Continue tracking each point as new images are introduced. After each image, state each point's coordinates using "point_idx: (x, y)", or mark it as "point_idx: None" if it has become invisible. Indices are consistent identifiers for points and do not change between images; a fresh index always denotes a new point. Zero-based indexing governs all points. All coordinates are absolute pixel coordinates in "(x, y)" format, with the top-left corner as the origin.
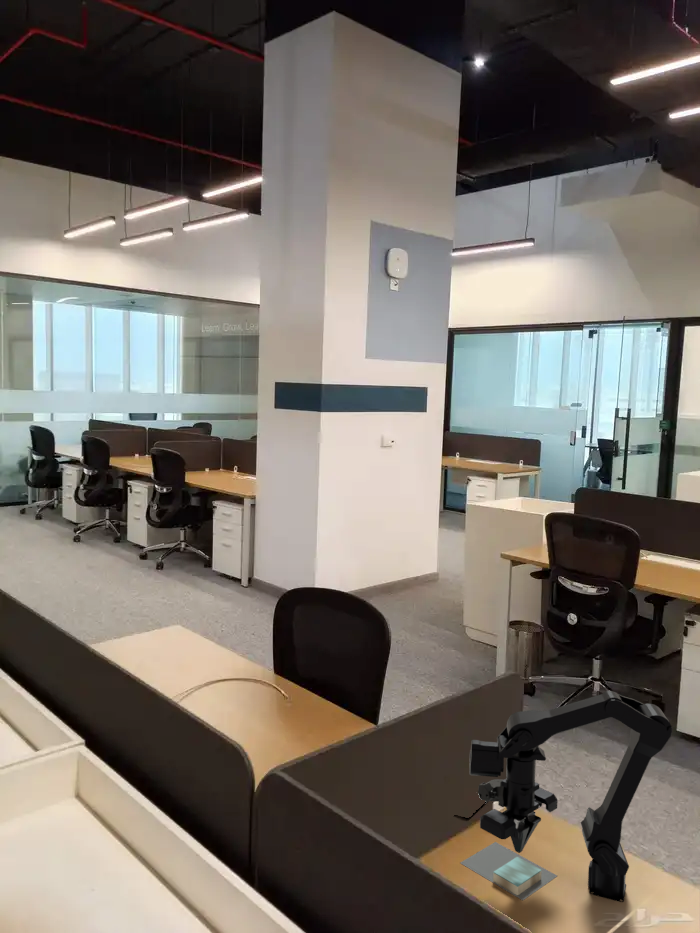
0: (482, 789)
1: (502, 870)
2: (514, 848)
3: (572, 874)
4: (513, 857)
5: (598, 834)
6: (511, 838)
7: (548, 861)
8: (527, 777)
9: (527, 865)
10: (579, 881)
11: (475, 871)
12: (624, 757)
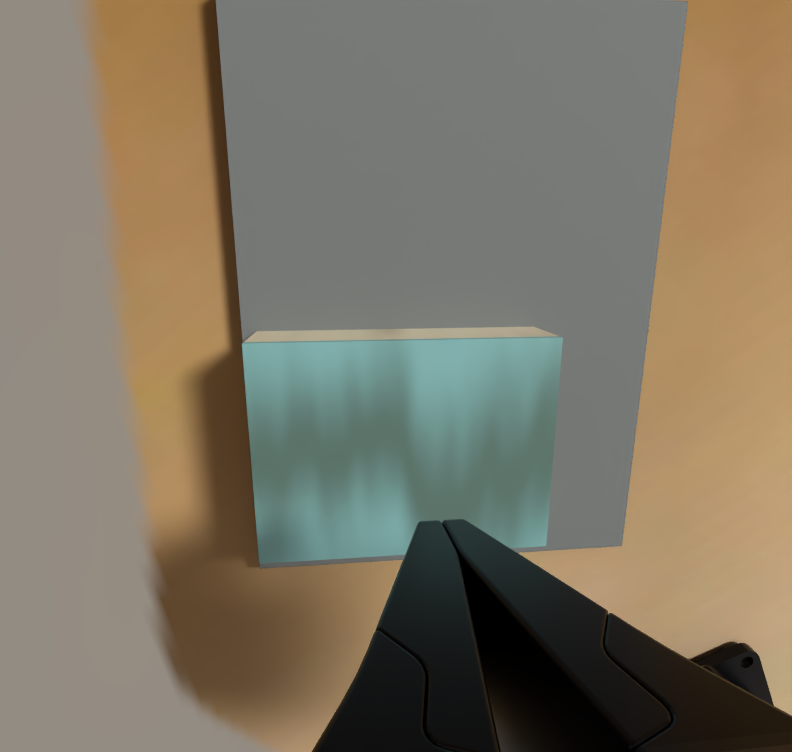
0: None
1: (317, 379)
2: (414, 532)
3: (703, 558)
4: (601, 246)
5: None
6: (382, 617)
7: (730, 404)
8: None
9: (521, 455)
10: (670, 613)
11: (233, 162)
12: None
